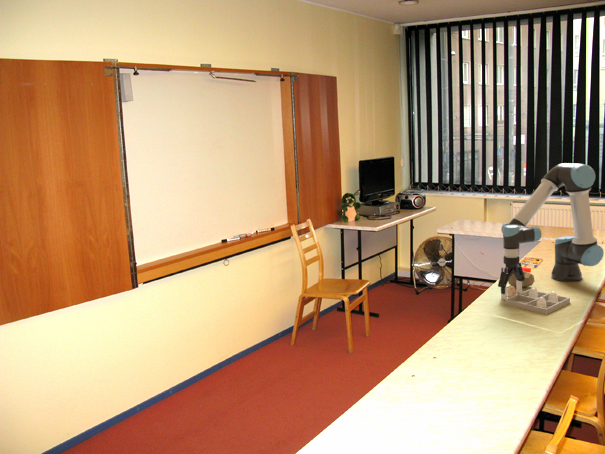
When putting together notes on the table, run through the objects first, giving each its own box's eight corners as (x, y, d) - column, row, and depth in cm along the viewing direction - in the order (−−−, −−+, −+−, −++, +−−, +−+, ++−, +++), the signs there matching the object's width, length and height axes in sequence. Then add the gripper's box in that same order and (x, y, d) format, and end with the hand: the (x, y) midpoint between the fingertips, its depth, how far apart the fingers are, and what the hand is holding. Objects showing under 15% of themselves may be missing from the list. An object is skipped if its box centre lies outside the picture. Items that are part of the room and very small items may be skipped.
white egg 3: (551, 301, 256) (551, 289, 255) (559, 302, 252) (559, 291, 251) (546, 303, 253) (546, 292, 252) (554, 305, 250) (555, 293, 249)
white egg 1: (531, 296, 264) (531, 285, 263) (539, 298, 260) (539, 287, 259) (526, 298, 262) (526, 287, 260) (534, 300, 258) (534, 289, 257)
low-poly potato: (500, 286, 286) (507, 282, 275) (503, 267, 289) (510, 263, 278) (529, 293, 284) (536, 289, 273) (531, 274, 287) (539, 269, 276)
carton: (529, 295, 268) (529, 289, 268) (570, 303, 252) (570, 297, 251) (505, 305, 257) (505, 299, 256) (546, 315, 240) (546, 309, 239)
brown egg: (510, 294, 271) (510, 284, 270) (518, 296, 268) (517, 285, 267) (505, 296, 269) (505, 286, 268) (513, 298, 265) (513, 287, 264)
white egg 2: (539, 306, 250) (539, 295, 249) (548, 308, 247) (548, 296, 245) (534, 308, 248) (534, 297, 246) (543, 310, 244) (543, 299, 243)
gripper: (518, 250, 274) (518, 289, 278) (490, 259, 260) (490, 300, 264) (532, 252, 268) (532, 291, 272) (503, 262, 254) (504, 304, 258)
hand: (511, 296), depth 268 cm, fingers open, 13 cm apart
